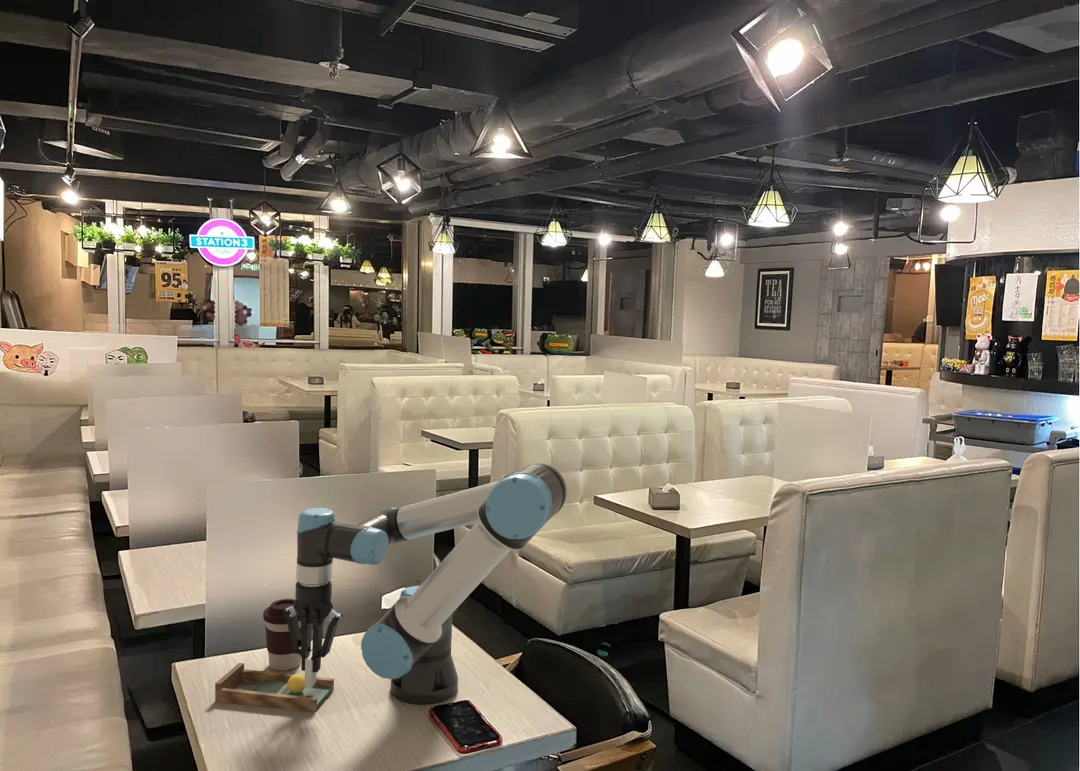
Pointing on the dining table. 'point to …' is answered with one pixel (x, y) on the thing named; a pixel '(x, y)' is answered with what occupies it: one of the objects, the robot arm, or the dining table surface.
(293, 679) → the ball
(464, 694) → the dining table surface
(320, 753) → the dining table surface
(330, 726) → the dining table surface
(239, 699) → the tray
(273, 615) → the coffee cup
